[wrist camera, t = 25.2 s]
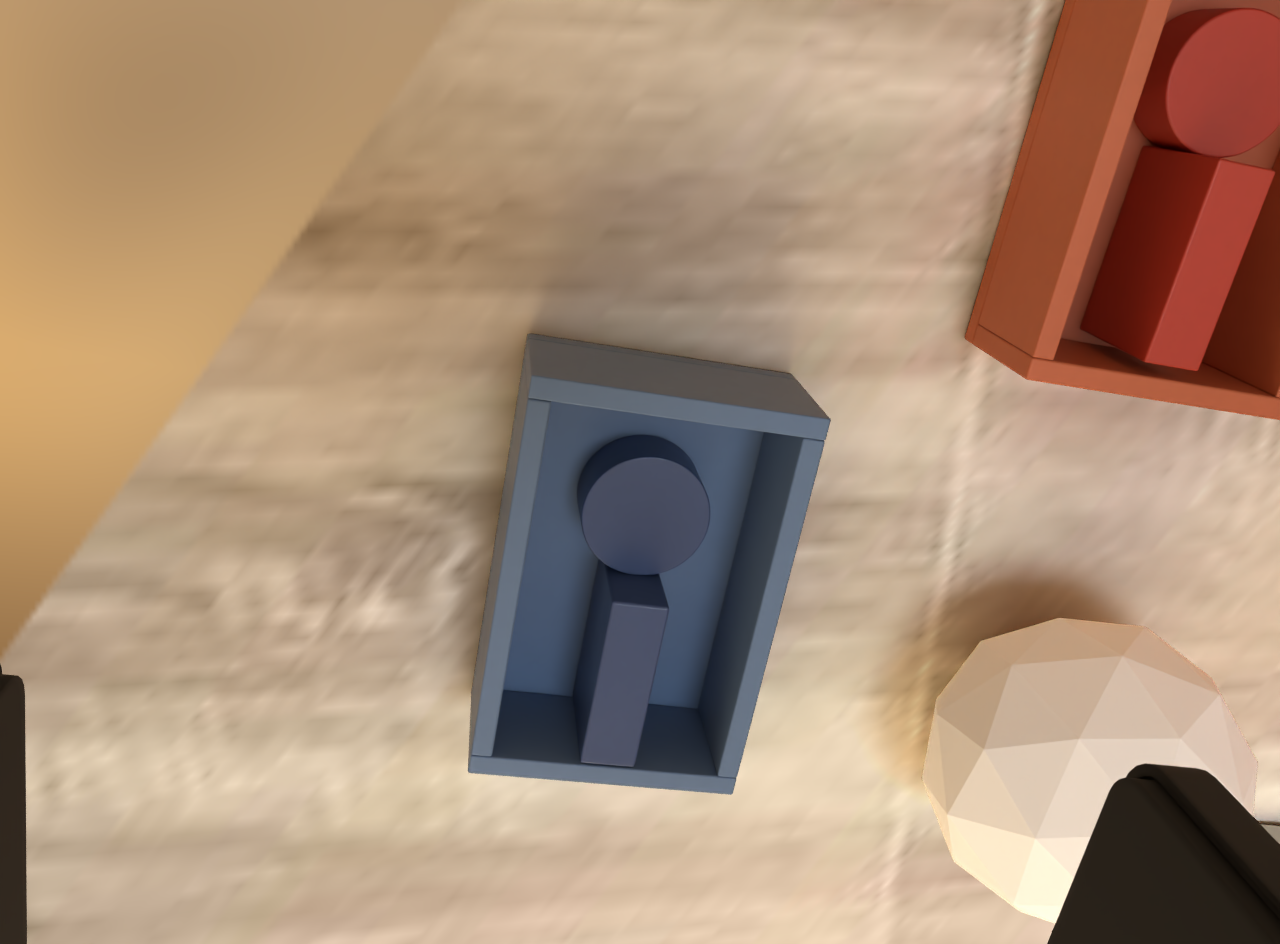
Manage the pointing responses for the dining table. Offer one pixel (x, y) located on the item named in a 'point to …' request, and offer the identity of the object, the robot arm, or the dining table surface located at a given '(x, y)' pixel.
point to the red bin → (1086, 217)
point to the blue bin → (695, 590)
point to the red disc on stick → (1190, 186)
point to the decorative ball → (1065, 747)
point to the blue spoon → (630, 583)
